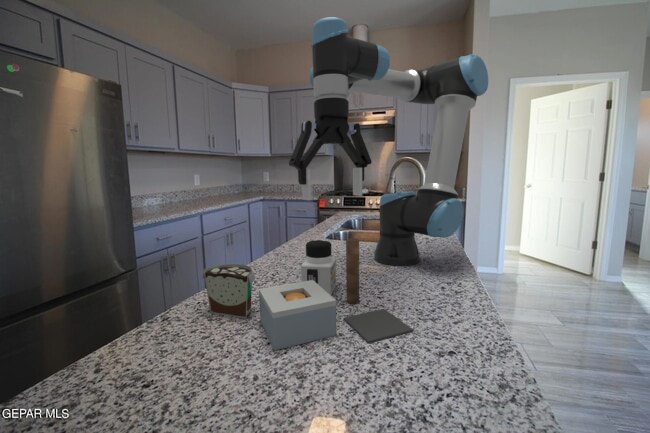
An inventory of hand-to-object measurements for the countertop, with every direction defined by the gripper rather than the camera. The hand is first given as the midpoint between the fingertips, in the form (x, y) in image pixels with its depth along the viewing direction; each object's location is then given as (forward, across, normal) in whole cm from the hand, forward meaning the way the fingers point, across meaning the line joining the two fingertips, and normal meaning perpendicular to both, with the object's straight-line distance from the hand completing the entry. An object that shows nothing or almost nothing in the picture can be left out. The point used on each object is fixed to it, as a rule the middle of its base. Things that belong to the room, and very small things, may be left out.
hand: (333, 197), depth 71 cm
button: (+21, +14, +7) cm, 26 cm away
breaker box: (+25, +14, +7) cm, 29 cm away
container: (+25, 0, -8) cm, 26 cm away
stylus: (+25, -3, +3) cm, 25 cm away
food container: (+25, +22, -8) cm, 34 cm away
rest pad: (+25, 0, +14) cm, 29 cm away
